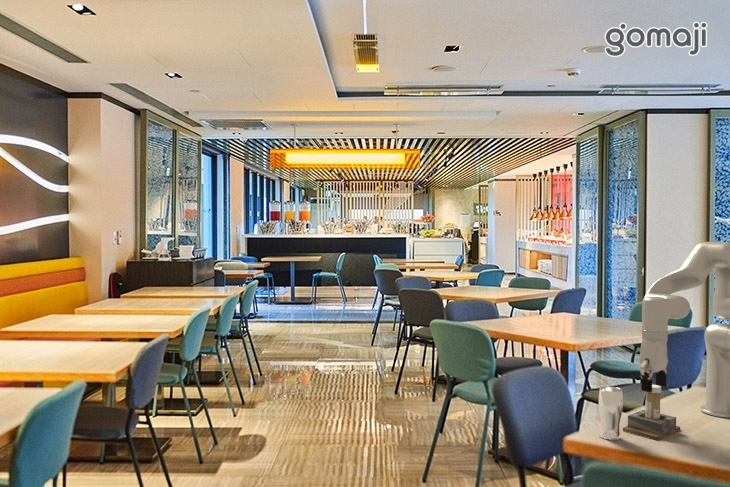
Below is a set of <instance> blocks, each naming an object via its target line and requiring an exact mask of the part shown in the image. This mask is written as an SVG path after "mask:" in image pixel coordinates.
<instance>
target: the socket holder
mask: <svg viewBox="0 0 730 487" xmlns="http://www.w3.org/2000/svg"><path fill="white" fill-rule="evenodd" d="M680 430H681V426H680V425H679V426H678V425H677V417H676V416H672V415H668V414H663V413H660V420H659V421H655V420H651V419H647V418H645V409H641V410H639V411H636V412H632V413H631V414H629V415H627V426H624V427H622V432H625V431H626V432H625V433H629V432H630V433H629V434H632V433H634V434H633V435H636V434H637V435H636V436H640V435H641V436H640V437H643V436H645V437H644V438H647V437H649V438H648V439H651V438H653V439H652V440H654V439H656V440H655V441H659V440H661V439H663V438H665V436H666V437H667V435H668V436H670V435H672V434H675V433H677V432H679V431H680ZM674 432H675V433H674ZM660 438H661V439H660ZM658 439H659V440H658Z"/></svg>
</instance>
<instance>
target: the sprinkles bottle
mask: <svg viewBox="0 0 730 487" xmlns="http://www.w3.org/2000/svg"><path fill="white" fill-rule="evenodd" d="M661 393H662V386H658V385H656V384H653V383H652V392H646V391H645V404H644V405H645V406H644V408H645V409H644V410H645V418H647V419H651V420H655V421H659V420H660V414H661Z"/></svg>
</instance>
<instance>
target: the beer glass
mask: <svg viewBox="0 0 730 487" xmlns="http://www.w3.org/2000/svg"><path fill="white" fill-rule="evenodd" d="M623 395H624V394H623V389H622V388H620V387H615V386H610V385H609V386H604V385H603V386H600V387H599V393H598V410H599V418H600V430H599V434H598V435H599V437H600V438H601V437H602V438H601V439H603V438H604V440H606V439H609V440H608V441H619V440H620V439H621V432H620V423H621V417H622V414H623V408H624V405H623V404H624V397H623ZM618 439H619V440H618Z"/></svg>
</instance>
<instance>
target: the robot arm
mask: <svg viewBox="0 0 730 487" xmlns="http://www.w3.org/2000/svg"><path fill="white" fill-rule="evenodd" d="M711 272H713V273H714V278H715V283H714V294H713V304H712V313H713V315H714V317H716V318H718V319H720V320H724V321H730V242H728V241H727V242H726V241H703V242H702V241H700V242H699V243H697V244H696V245H695V246H694V247H693V248H692V249H691V251H690V252H689V254H688V255H687V257H686V258H685V259H684V261H683V262H682V263H681V265H680V267H679V268H678V269H676V270H674V271H672V272H670V273H668V274H666V275H664V276H662V277H660V278H659V279H657V280H656V281H655V282H654V283H652V285H651V286H650V288H649V289H648V290H647V292H645V295H644V297H643V299H642V305H641V344H640V349H639V350H640V351H639V361H638V362H639V363H638V367H639V373H640V374H639V375H640V379H641V380H640V381H641V385H640V386H641V387H640V388H641V391H642V392H645V393H646V392H652V384H653V379H652V377H653V374H655V385H658V386H660V387H662V388H663V387H664V388H666V387H667V374H668V371H667V369H668V364H669V358H668V347H667V346H668V345H667V342H668V339H669V331H668V330H669V327H668V326H669V323H668V322H669V319H670V320H671V319H673V320H680V319H681V320H682V319H684V318H685V317H687V316H688V314H689V313H690V311H691V304H690V302H689V300H688V299H686V298H685V297H683V296H680V295H674V293H677V292H681V291H686V290H690V289H691V290H692V289H695V288H697V287H700V286H701V285H703V283H705V280H706V279H707V277H708V276H709V275H710V273H711ZM704 343H705V351H706V370H705V371H706V373H705V374H706V378H705V404H702V405H701V406H700V408H699V409H700V411H701V412H703V413H704V414H706V415H710V416H714V417H720V418H728V419H730V323H729V324H728V323H722V322H720V323H718V322H717V323H716V322H715V323H712V324H709V325H707V326H706V328H705V331H704Z"/></svg>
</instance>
